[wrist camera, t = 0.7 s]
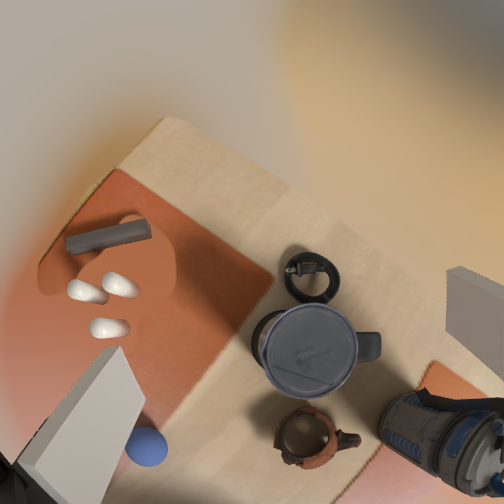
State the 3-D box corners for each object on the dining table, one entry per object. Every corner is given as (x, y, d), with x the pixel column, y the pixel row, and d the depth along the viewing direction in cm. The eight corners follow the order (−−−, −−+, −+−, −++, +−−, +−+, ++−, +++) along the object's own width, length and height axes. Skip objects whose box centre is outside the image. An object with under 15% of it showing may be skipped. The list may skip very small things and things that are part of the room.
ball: (176, 454, 35) (169, 472, 29) (138, 457, 34) (127, 473, 28) (164, 419, 36) (155, 433, 30) (126, 422, 35) (112, 435, 29)
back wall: (151, 238, 42) (146, 231, 39) (75, 255, 40) (66, 250, 37) (150, 225, 42) (145, 218, 39) (74, 243, 41) (65, 237, 38)
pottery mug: (277, 469, 36) (270, 471, 29) (278, 413, 42) (271, 403, 36) (357, 463, 34) (367, 463, 27) (355, 407, 40) (363, 396, 34)
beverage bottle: (422, 368, 40) (544, 380, 16) (427, 434, 37) (531, 474, 13) (370, 389, 39) (490, 430, 15) (378, 458, 36) (474, 526, 12)
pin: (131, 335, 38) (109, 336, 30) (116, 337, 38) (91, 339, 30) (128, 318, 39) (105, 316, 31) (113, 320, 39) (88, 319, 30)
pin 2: (141, 297, 40) (121, 290, 32) (126, 300, 39) (103, 293, 31) (139, 280, 40) (118, 270, 32) (123, 283, 40) (100, 273, 32)
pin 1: (110, 303, 39) (84, 297, 31) (96, 305, 39) (68, 300, 31) (107, 286, 40) (82, 277, 31) (93, 289, 39) (66, 280, 31)
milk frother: (260, 383, 38) (278, 414, 24) (228, 275, 42) (228, 249, 27) (353, 350, 40) (409, 359, 26) (322, 249, 44) (364, 213, 29)
